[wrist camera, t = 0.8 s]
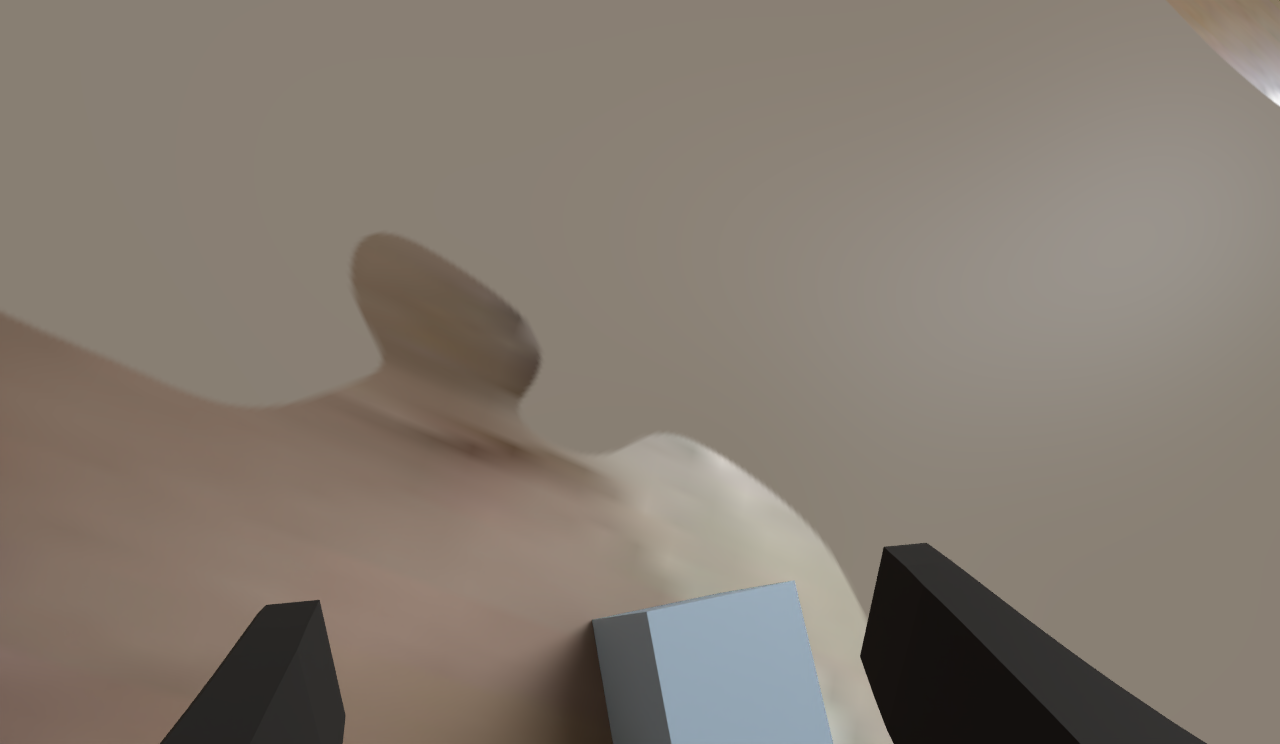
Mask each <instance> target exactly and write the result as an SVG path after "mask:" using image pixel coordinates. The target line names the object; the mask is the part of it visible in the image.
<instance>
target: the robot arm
mask: <svg viewBox="0 0 1280 744" xmlns="http://www.w3.org/2000/svg"><path fill="white" fill-rule="evenodd" d="M860 657H861V660H862V663H863V666H864V669H865V672H866V674H867V677H868V680H869V683H870V686H871V689H872V692H873V694H874V697H875V700H876V702H877V705H878V708H879V710H880V713H881V715H882V718H883V721H884V723H885V726H886V728H887V731H888V733H889V735H890V737H891V739H892V741H893V743H894V744H1207V743H1205V742H1203V741H1202V740H1200V739H1199V738H1197V737H1195V736H1194V735H1192V734H1190V733H1189V732H1188V731H1186V730H1184V729H1183V728H1181V727H1180V726H1178V725H1177V724H1175V723H1174V722H1172V721H1170V720H1169V719H1167V718H1166V717H1165V716H1163V715H1162V714H1160V713H1158V712H1157V711H1156V710H1154V709H1153V708H1151V707H1150V706H1148V705H1147V704H1145V703H1144V702H1142V701H1141V700H1139V699H1138V698H1136V697H1135V696H1133V695H1132V694H1130V693H1129V692H1127V691H1126V690H1124V689H1123V688H1122V687H1120V686H1119V685H1117V684H1116V683H1114V682H1113V681H1111V680H1110V679H1108V678H1107V677H1106V676H1104V675H1103V674H1102V673H1100V672H1099V671H1097V670H1096V669H1094V668H1093V667H1092V666H1090V665H1089V664H1087V663H1086V662H1085V661H1083V660H1082V659H1081V658H1079V657H1078V656H1076V655H1075V654H1074V653H1072V652H1071V651H1070V650H1068V649H1067V648H1065V647H1064V646H1063V645H1061V644H1060V643H1058V642H1057V641H1056V640H1055V639H1053V638H1052V637H1051V636H1049V635H1048V634H1046V633H1045V632H1044V631H1043V630H1041V629H1040V628H1039V627H1037V626H1036V625H1035V624H1033V623H1032V622H1031V621H1029V620H1028V619H1027V618H1025V617H1024V616H1023V615H1021V614H1020V613H1018V612H1017V611H1016V610H1015V609H1013V608H1012V607H1011V606H1010V605H1008V604H1007V603H1006V602H1004V601H1003V600H1002V599H1000V598H999V597H998V596H997V595H995V594H994V593H993V592H991V591H990V590H989V589H987V588H986V587H985V586H983V585H982V584H981V583H980V582H978V581H977V580H976V579H974V578H973V577H972V576H970V575H969V574H968V573H967V572H965V571H964V570H963V569H961V568H960V567H959V566H957V565H956V564H955V563H953V562H952V561H951V560H949V559H948V558H947V557H945V556H944V555H942V554H941V553H940V552H938V551H937V550H936V549H934V548H933V547H932V546H930V545H929V544H927V543H920V544H911V545H899V546H888V547H884V548H883V553H882V558H881V563H880V567H879V571H878V576H877V581H876V585H875V590H874V595H873V600H872V604H871V609H870V613H869V618H868V622H867V627H866V632H865V636H864V641H863V646H862V650H861V655H860ZM344 725H345V712H344V707H343V703H342V698H341V694H340V689H339V685H338V680H337V676H336V671H335V667H334V662H333V658H332V654H331V649H330V645H329V640H328V636H327V631H326V627H325V622H324V618H323V613H322V609H321V604H320V600H314V601H304V602H293V603H282V604H272V605H266V606H265V607H264V608H263V609H262V610H261V611H260V612H259V613H258V614H257V615H256V617H255V618H254V619H253V621H252V622H251V623H250V625H249V626H248V628H247V629H246V630H245V632H244V633H243V635H242V636H241V637H240V639H239V640H238V641H237V643H236V644H235V646H234V647H233V648H232V650H231V651H230V652H229V654H228V655H227V657H226V658H225V659H224V661H223V662H222V663H221V665H220V666H219V667H218V669H217V670H216V672H215V673H214V674H213V676H212V677H211V678H210V680H209V681H208V682H207V684H206V685H205V686H204V688H203V689H202V690H201V692H200V693H199V694H198V695H197V697H196V698H195V699H194V701H193V702H192V703H191V705H190V706H189V707H188V709H187V710H186V711H185V713H184V714H183V715H182V716H181V718H180V719H179V720H178V721H177V723H176V724H175V725H174V727H173V728H172V729H171V730H170V732H169V733H168V734H167V735H166V737H165V738H164V739H163V740H162V742H161V743H160V744H342V743H343V734H344Z"/></svg>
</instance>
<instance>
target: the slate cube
mask: <svg viewBox="0 0 1280 744" xmlns="http://www.w3.org/2000/svg"><path fill="white" fill-rule="evenodd" d="M592 623H593V629H594V635H595V641H596V646H597V652H598V658H599V664H600V670H601V676H602V682H603V687H604V693H605V699H606V705H607V711H608V717H609V723H610V729H611V734H612V740H613V744H833V740H832V736H831V732H830V728H829V723H828V719H827V715H826V711H825V707H824V702H823V698H822V694H821V690H820V686H819V681H818V677H817V673H816V669H815V665H814V660H813V656H812V652H811V648H810V644H809V639H808V635H807V631H806V627H805V623H804V618H803V614H802V610H801V606H800V602H799V597H798V593H797V589H796V585H795V581H788V582H782V583H776V584H770V585H765V586H759V587H753V588H747V589H741V590H735V591H729V592H723V593H718V594H713V595H709V596H704V597H699V598H694V599H689V600H685V601H680V602H675V603H670V604H666V605H661V606H656V607H651V608H646V609H642V610H637V611H632V612H627V613H623V614H618V615H613V616H608V617H604V618H599V619H594V620H592Z"/></svg>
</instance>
